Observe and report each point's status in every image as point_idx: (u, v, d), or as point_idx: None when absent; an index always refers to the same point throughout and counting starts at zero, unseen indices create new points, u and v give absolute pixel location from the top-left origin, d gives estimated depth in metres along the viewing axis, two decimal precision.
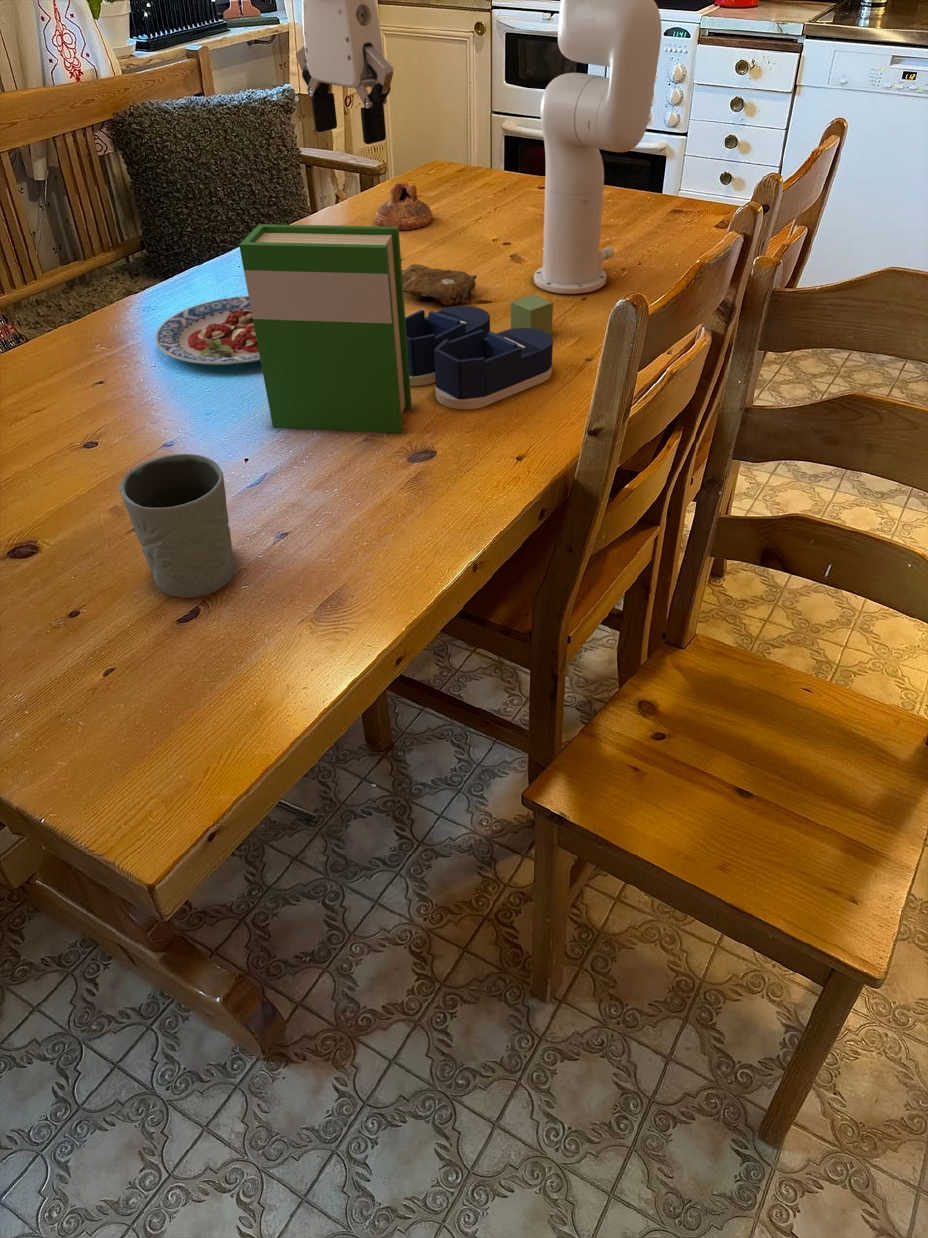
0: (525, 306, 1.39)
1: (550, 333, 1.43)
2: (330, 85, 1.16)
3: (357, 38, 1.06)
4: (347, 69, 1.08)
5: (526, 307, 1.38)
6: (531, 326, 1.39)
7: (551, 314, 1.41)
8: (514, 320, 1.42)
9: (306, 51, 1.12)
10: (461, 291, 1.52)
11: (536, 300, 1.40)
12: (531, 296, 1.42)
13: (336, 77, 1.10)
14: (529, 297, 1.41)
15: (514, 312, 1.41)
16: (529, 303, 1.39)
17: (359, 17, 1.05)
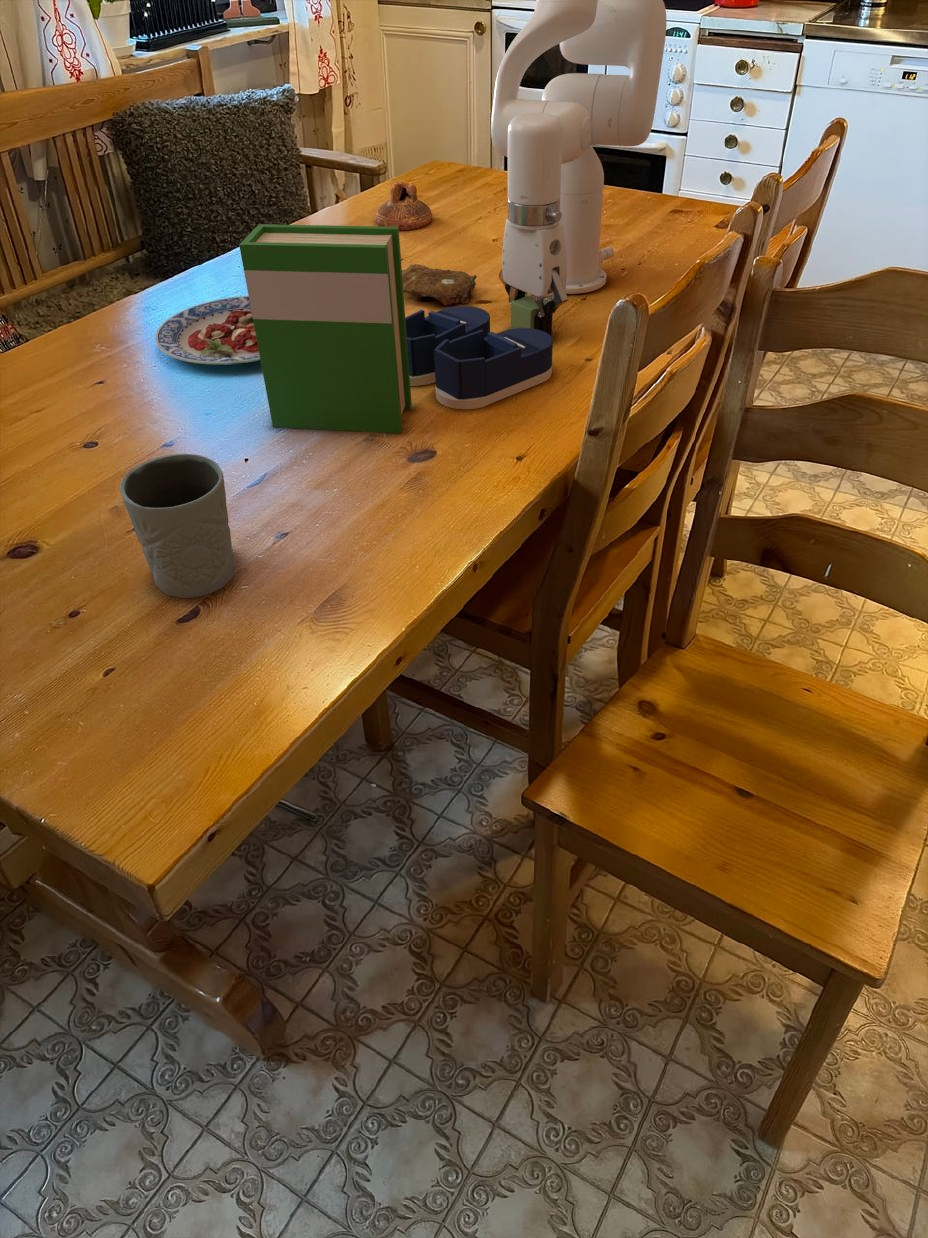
0: (525, 306, 1.39)
1: None
2: (526, 293, 1.42)
3: (548, 265, 1.32)
4: (537, 285, 1.34)
5: (526, 307, 1.38)
6: (531, 326, 1.39)
7: None
8: (514, 320, 1.42)
9: (503, 263, 1.38)
10: (461, 291, 1.52)
11: None
12: (531, 296, 1.42)
13: (526, 288, 1.36)
14: (529, 297, 1.41)
15: (514, 312, 1.41)
16: (529, 303, 1.39)
17: (551, 248, 1.31)
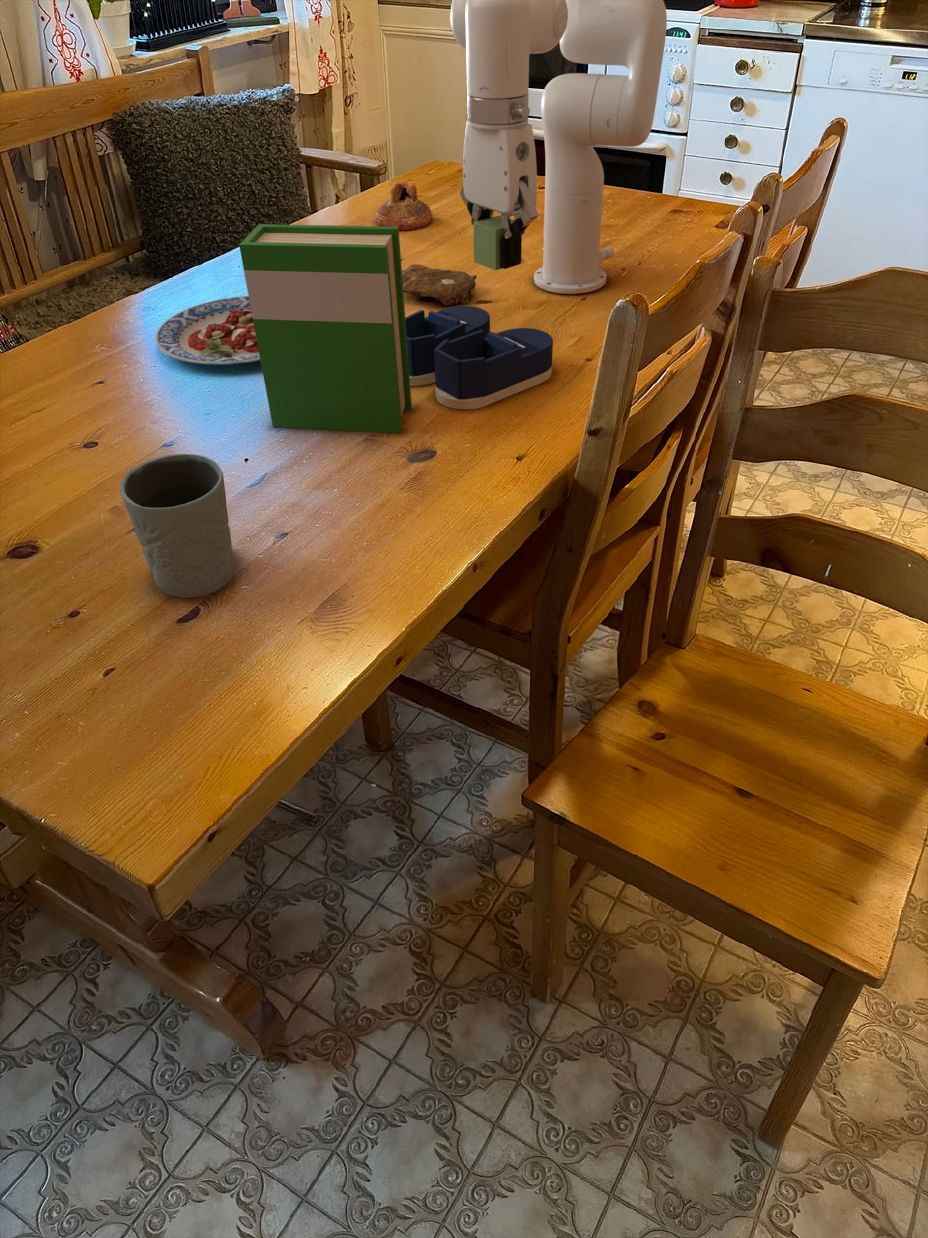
0: (489, 226, 1.20)
1: None
2: (491, 213, 1.23)
3: (515, 172, 1.13)
4: (502, 198, 1.15)
5: (490, 227, 1.19)
6: (496, 249, 1.20)
7: None
8: (477, 244, 1.22)
9: (464, 176, 1.19)
10: (461, 291, 1.52)
11: None
12: (497, 217, 1.23)
13: (491, 203, 1.17)
14: (495, 218, 1.22)
15: (477, 235, 1.22)
16: (494, 223, 1.20)
17: (518, 153, 1.12)
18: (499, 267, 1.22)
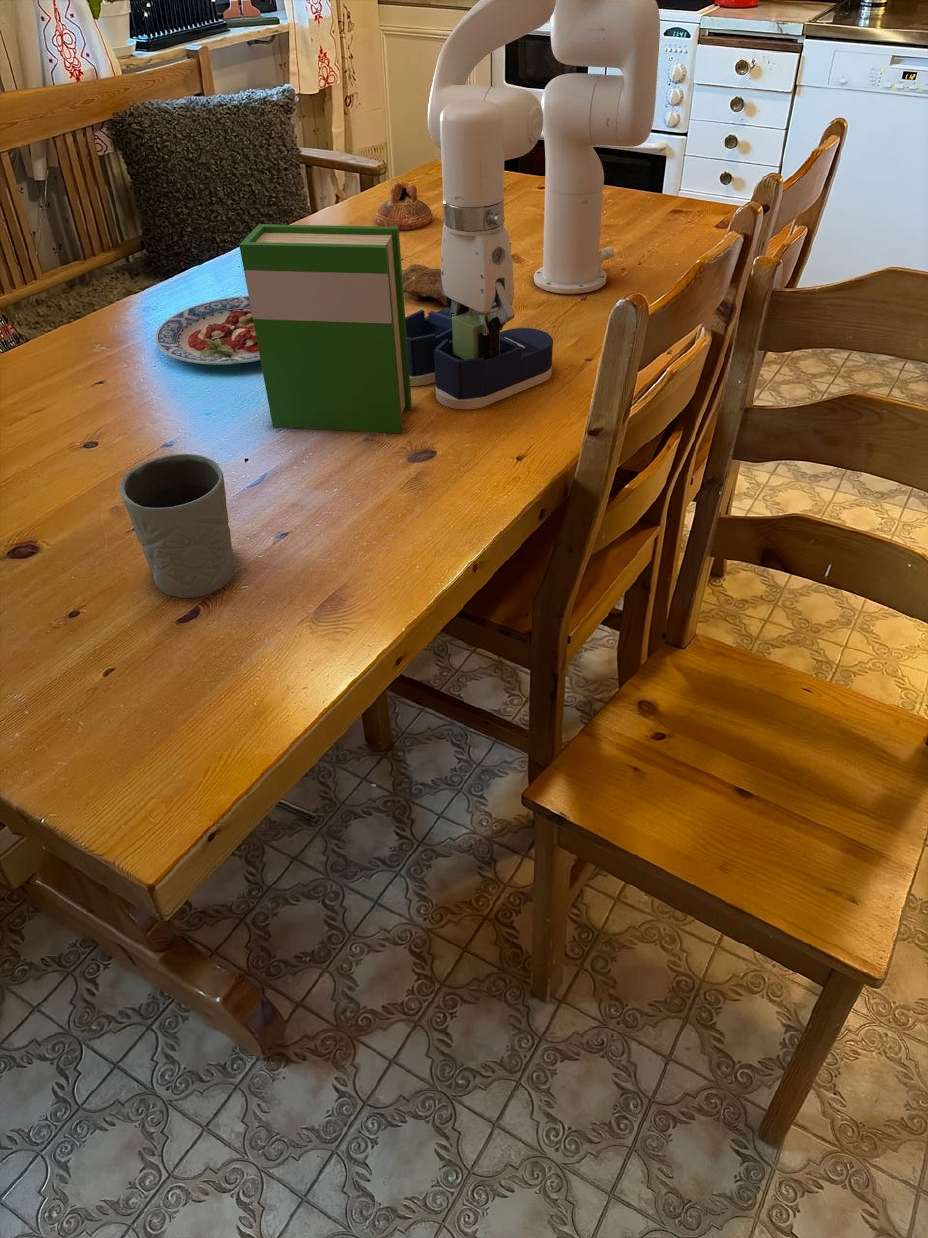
0: (467, 322, 1.21)
1: None
2: (470, 307, 1.24)
3: (491, 276, 1.14)
4: (479, 299, 1.17)
5: (468, 324, 1.21)
6: (474, 345, 1.22)
7: None
8: (456, 338, 1.24)
9: (442, 274, 1.21)
10: None
11: None
12: (476, 311, 1.24)
13: (468, 302, 1.19)
14: (473, 312, 1.24)
15: (456, 329, 1.23)
16: (472, 319, 1.22)
17: (494, 257, 1.14)
18: None
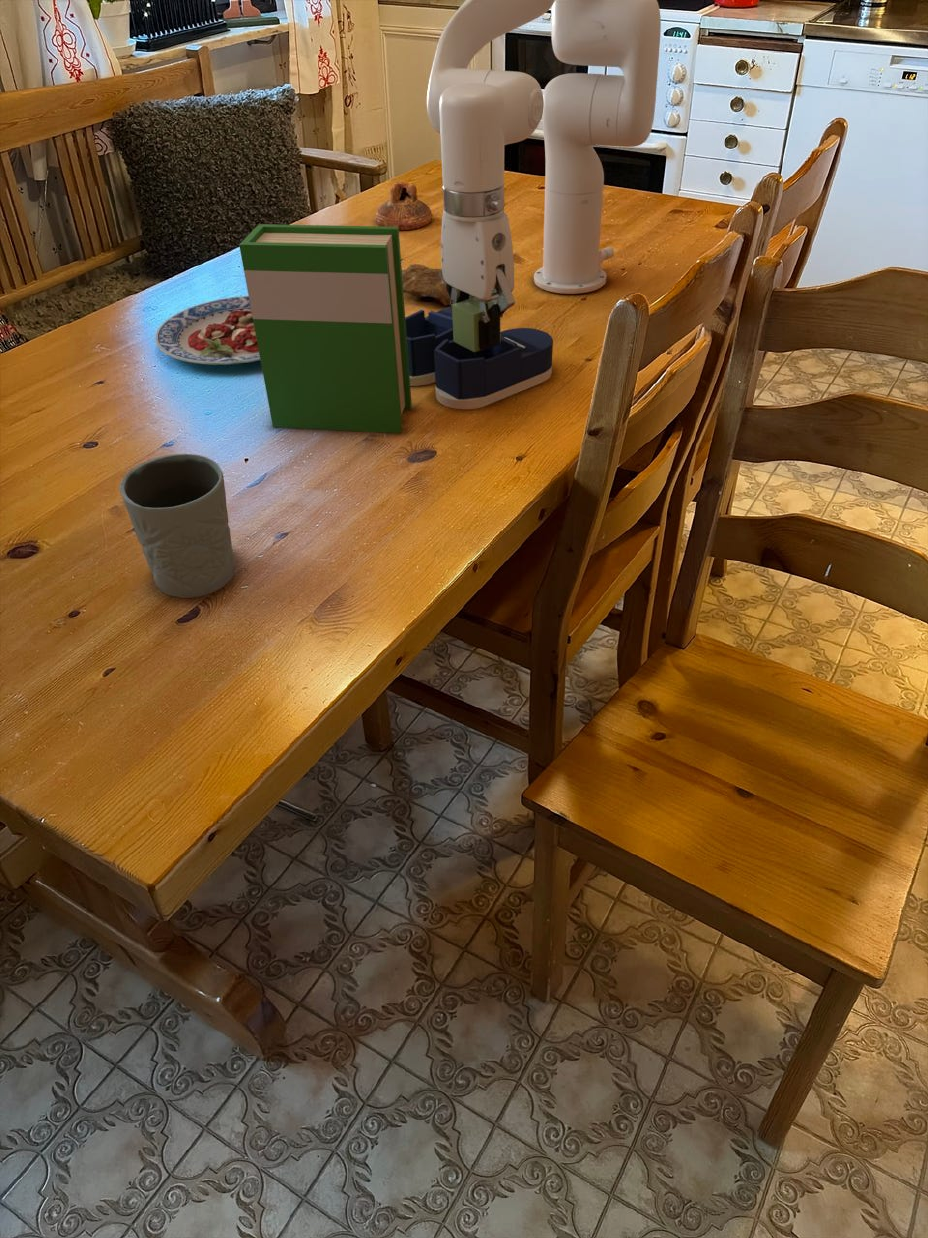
0: (468, 310, 1.20)
1: None
2: (470, 294, 1.23)
3: (491, 262, 1.13)
4: (479, 285, 1.16)
5: (468, 311, 1.20)
6: (475, 333, 1.21)
7: None
8: (456, 326, 1.23)
9: (442, 260, 1.20)
10: None
11: None
12: (476, 298, 1.23)
13: (468, 289, 1.18)
14: (473, 299, 1.23)
15: (456, 317, 1.22)
16: (472, 306, 1.21)
17: (494, 243, 1.13)
18: (478, 349, 1.23)
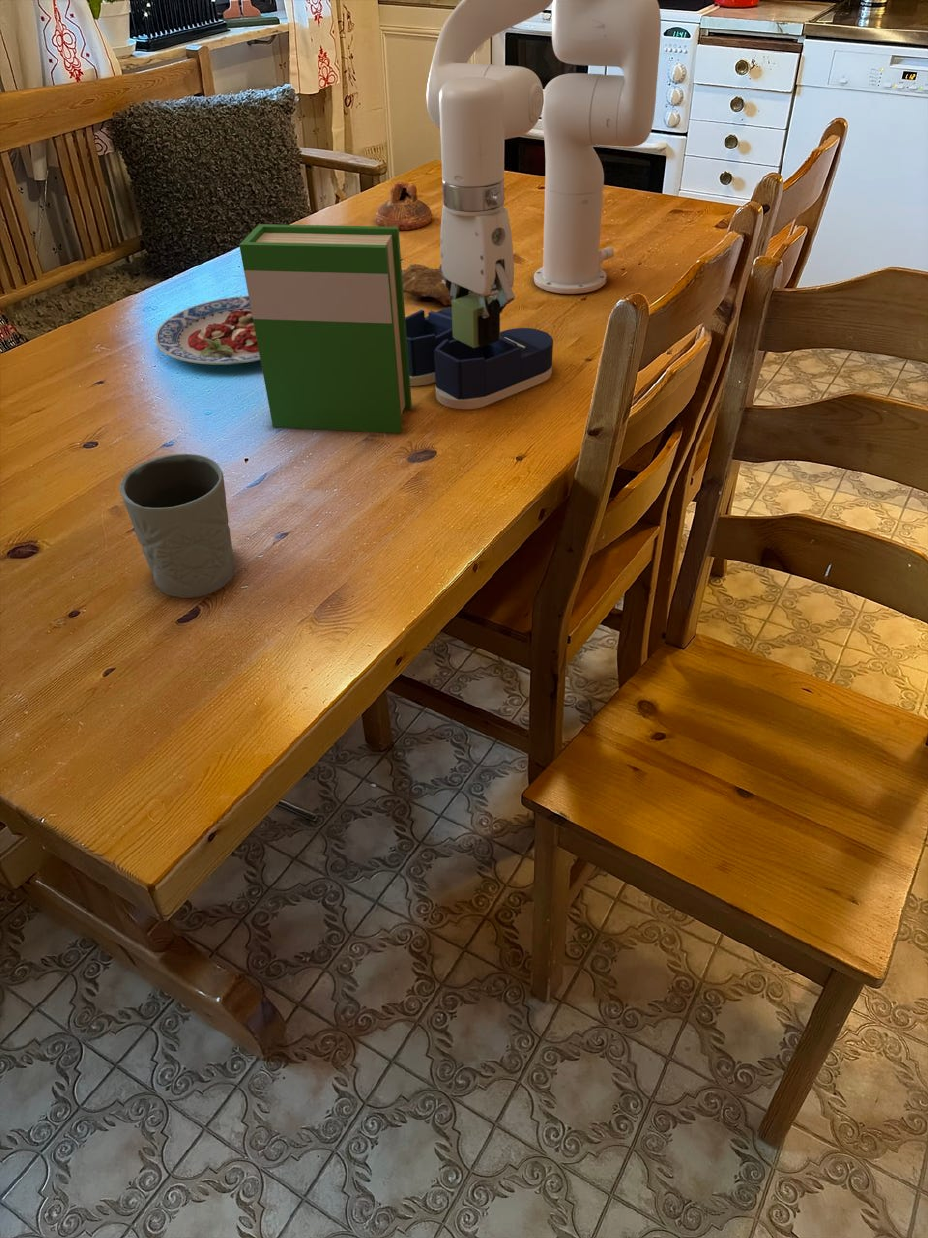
0: (467, 305, 1.20)
1: None
2: (470, 290, 1.23)
3: (491, 257, 1.13)
4: (478, 281, 1.15)
5: (468, 307, 1.19)
6: (474, 328, 1.20)
7: None
8: (456, 321, 1.22)
9: (441, 256, 1.19)
10: None
11: None
12: (475, 294, 1.23)
13: (468, 284, 1.17)
14: (473, 295, 1.22)
15: (455, 313, 1.22)
16: (472, 302, 1.20)
17: (494, 238, 1.12)
18: (477, 345, 1.22)
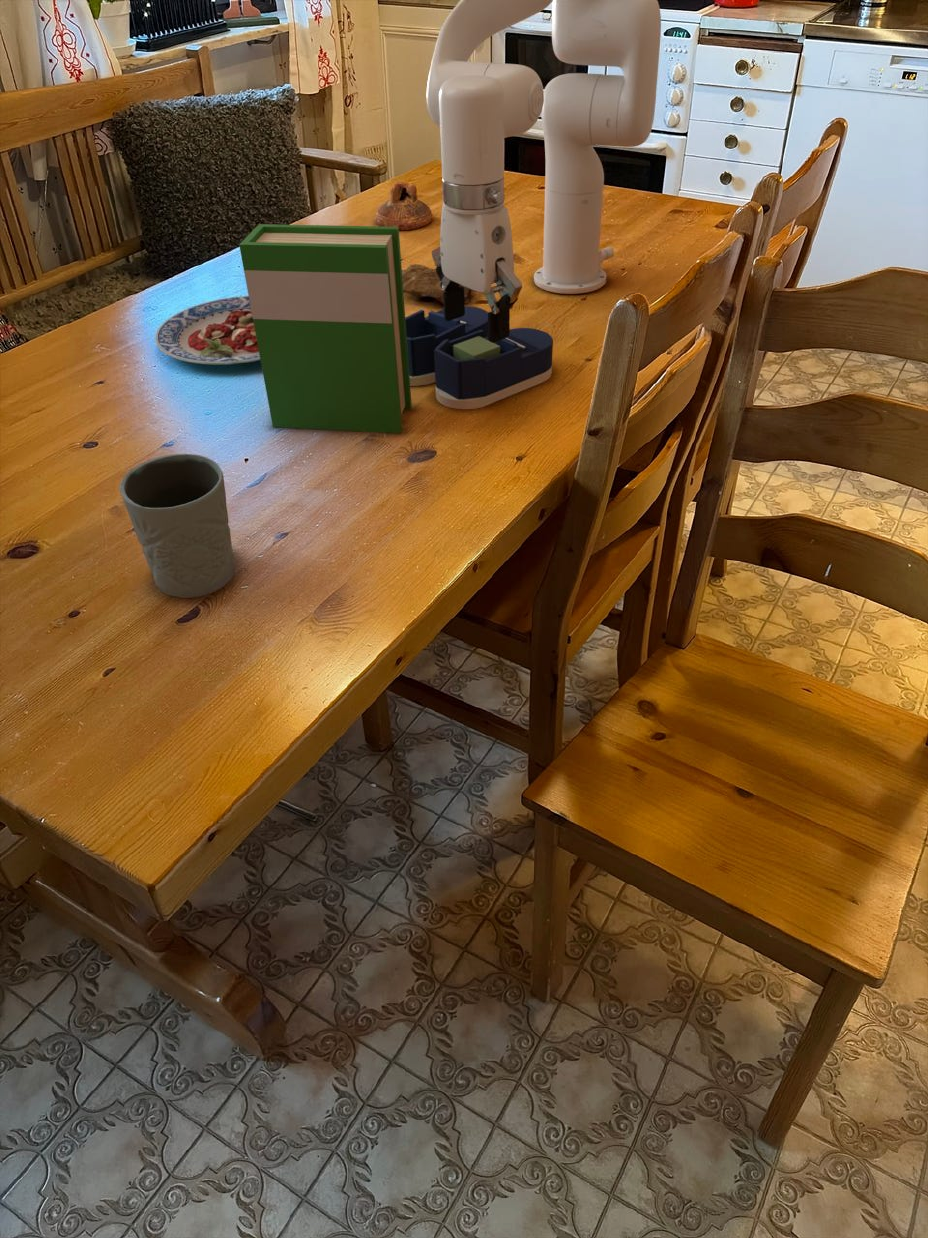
0: (468, 351, 1.24)
1: None
2: None
3: (491, 255, 1.13)
4: (478, 279, 1.15)
5: (469, 352, 1.23)
6: None
7: None
8: None
9: (441, 254, 1.19)
10: None
11: (481, 344, 1.25)
12: (476, 338, 1.27)
13: (468, 283, 1.17)
14: (474, 340, 1.26)
15: (457, 357, 1.26)
16: (473, 347, 1.24)
17: (494, 236, 1.12)
18: None
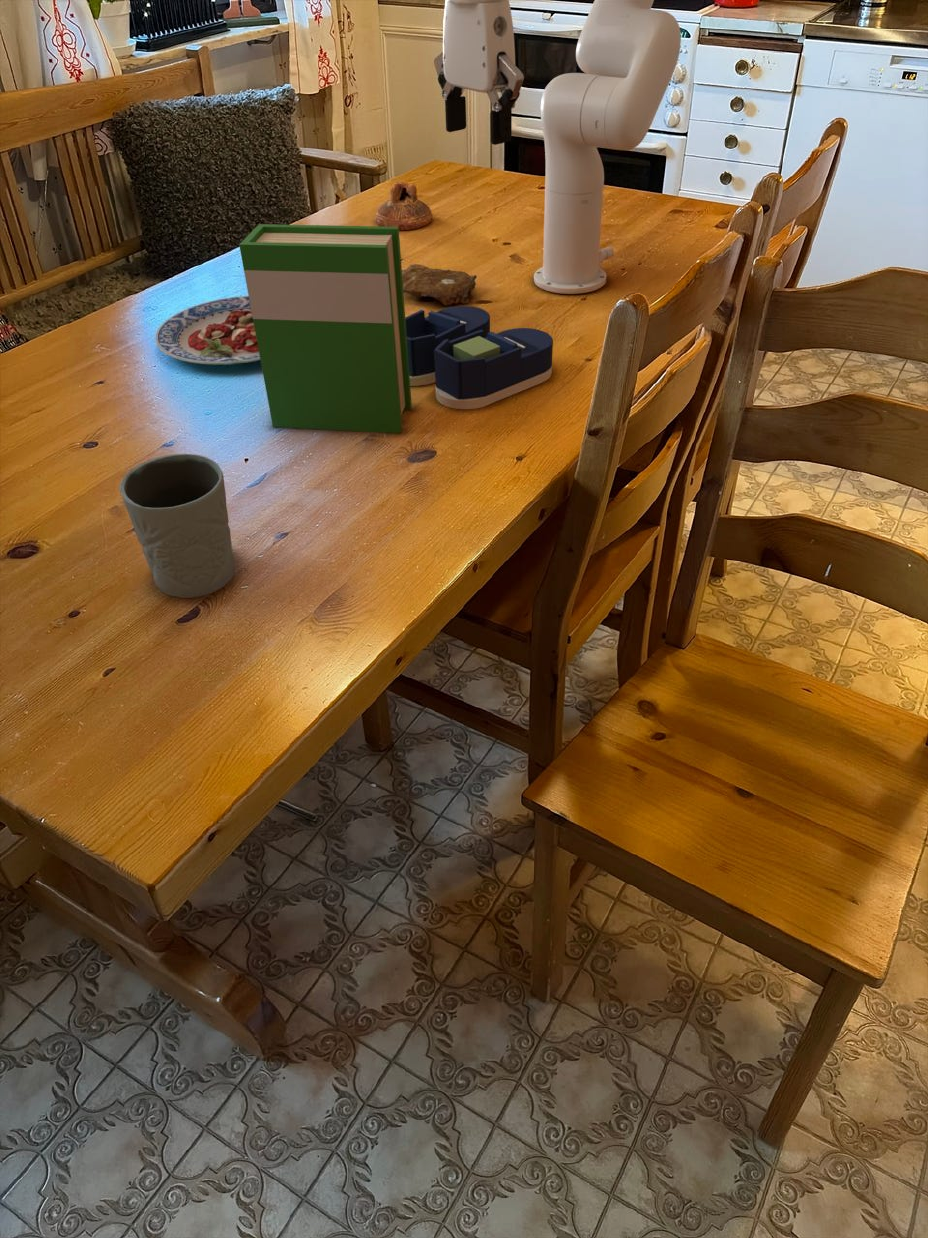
0: (468, 351, 1.24)
1: None
2: (463, 89, 1.26)
3: (493, 47, 1.15)
4: (480, 75, 1.17)
5: (469, 352, 1.23)
6: None
7: None
8: None
9: (444, 57, 1.21)
10: (461, 291, 1.52)
11: (481, 344, 1.25)
12: (476, 338, 1.27)
13: (470, 82, 1.19)
14: (474, 340, 1.26)
15: (457, 357, 1.26)
16: (473, 347, 1.24)
17: (496, 28, 1.14)
18: None
